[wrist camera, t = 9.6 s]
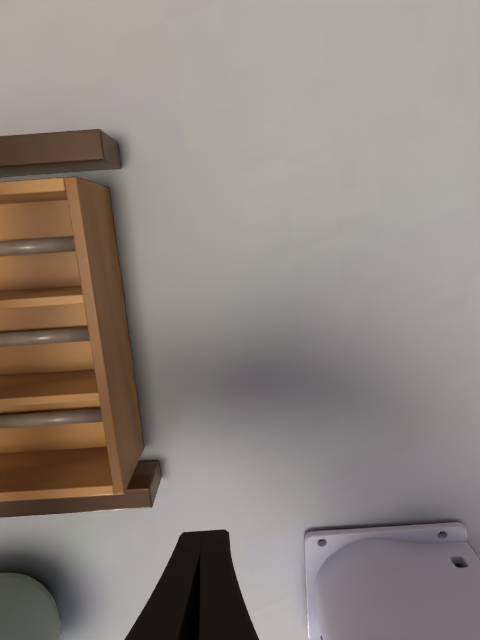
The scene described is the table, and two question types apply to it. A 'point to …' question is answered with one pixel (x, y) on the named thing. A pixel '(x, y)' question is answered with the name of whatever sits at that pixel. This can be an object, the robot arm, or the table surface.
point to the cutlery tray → (63, 345)
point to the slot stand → (58, 157)
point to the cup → (27, 609)
